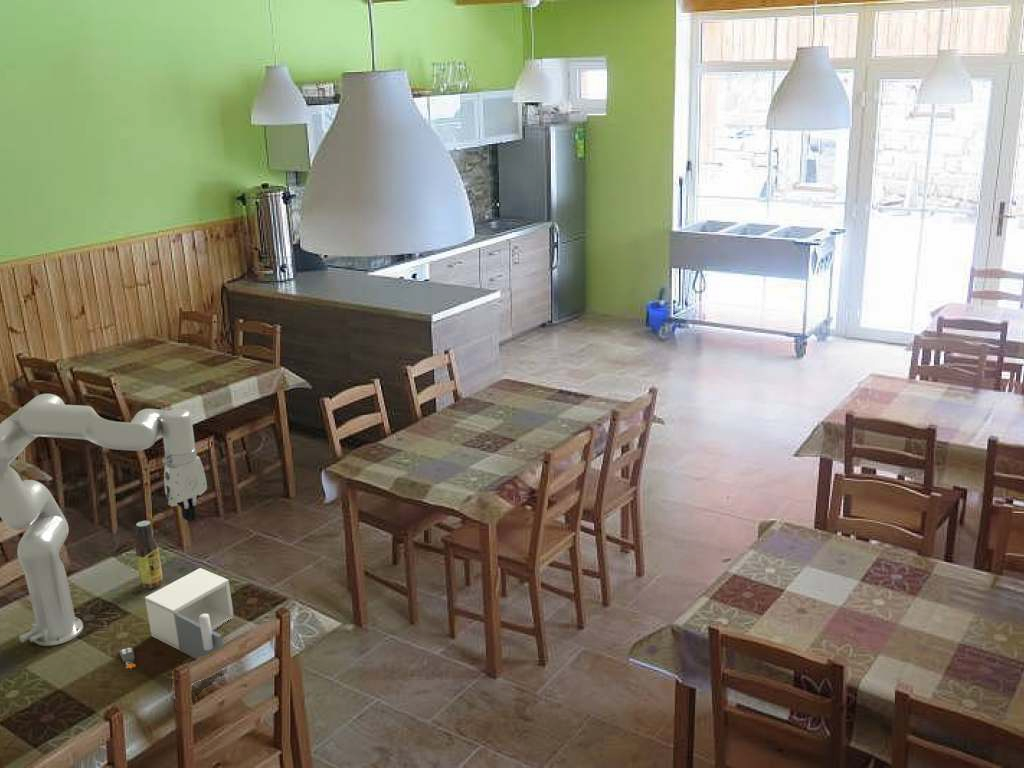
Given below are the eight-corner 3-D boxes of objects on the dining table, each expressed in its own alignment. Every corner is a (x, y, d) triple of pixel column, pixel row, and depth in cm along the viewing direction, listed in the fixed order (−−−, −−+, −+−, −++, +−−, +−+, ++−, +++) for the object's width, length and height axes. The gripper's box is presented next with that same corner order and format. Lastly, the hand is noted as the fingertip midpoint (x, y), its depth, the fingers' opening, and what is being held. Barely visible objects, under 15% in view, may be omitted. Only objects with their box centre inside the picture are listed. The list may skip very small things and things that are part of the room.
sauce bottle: (156, 590, 281) (145, 530, 275) (137, 588, 282) (126, 528, 276) (168, 579, 287) (158, 519, 281) (149, 577, 289) (139, 518, 282)
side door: (171, 654, 250) (161, 599, 245) (182, 647, 253) (173, 593, 247) (216, 679, 240) (207, 622, 234) (227, 672, 242) (219, 615, 237)
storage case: (179, 650, 253) (173, 610, 249) (151, 635, 259) (144, 597, 255) (233, 617, 267) (228, 579, 263) (205, 604, 273) (200, 567, 269)
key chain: (118, 654, 253) (117, 649, 252) (133, 649, 254) (132, 644, 254) (126, 680, 242) (125, 675, 242) (142, 675, 244) (141, 670, 243)
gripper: (165, 469, 243) (174, 534, 249) (213, 450, 254) (221, 512, 260) (147, 462, 247) (157, 526, 253) (196, 443, 258) (204, 505, 264)
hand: (189, 519), depth 257 cm, fingers closed
